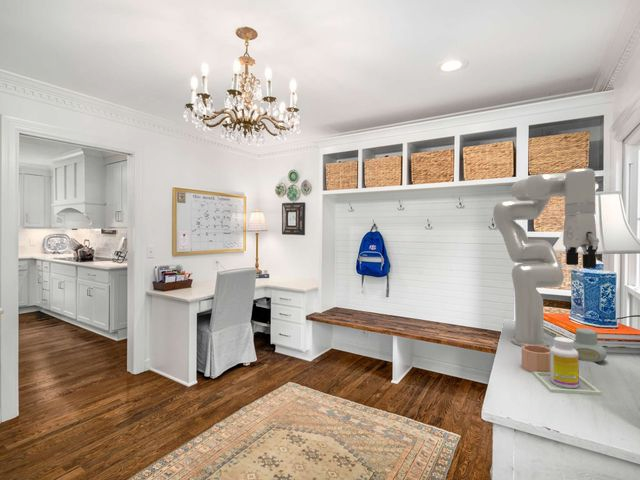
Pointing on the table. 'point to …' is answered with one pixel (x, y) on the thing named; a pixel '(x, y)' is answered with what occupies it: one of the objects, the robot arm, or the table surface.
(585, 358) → the air freshener
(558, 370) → the supplement bottle
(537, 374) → the tray
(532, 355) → the pot
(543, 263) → the robot arm
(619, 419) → the table surface
